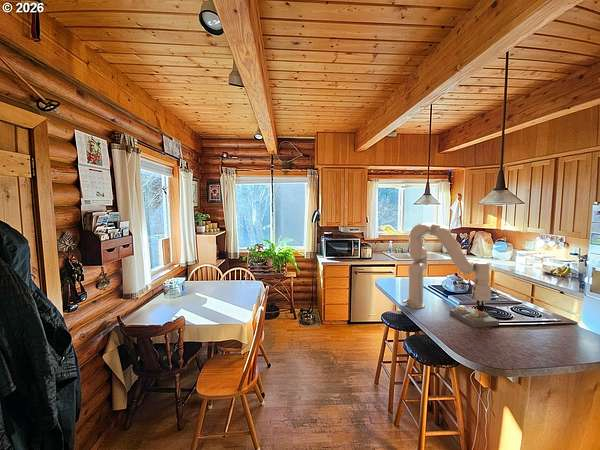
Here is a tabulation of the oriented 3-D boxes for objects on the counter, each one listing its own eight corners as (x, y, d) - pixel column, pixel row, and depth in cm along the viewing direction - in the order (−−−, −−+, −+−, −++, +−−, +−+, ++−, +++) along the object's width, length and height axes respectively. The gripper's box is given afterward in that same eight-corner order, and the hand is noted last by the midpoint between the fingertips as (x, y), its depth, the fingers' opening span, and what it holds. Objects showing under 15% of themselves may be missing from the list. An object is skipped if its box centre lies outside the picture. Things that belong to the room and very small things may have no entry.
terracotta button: (479, 315, 167) (479, 312, 167) (473, 313, 172) (474, 309, 171) (485, 315, 168) (485, 311, 168) (480, 312, 172) (480, 308, 172)
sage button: (473, 317, 161) (473, 314, 161) (467, 315, 165) (468, 311, 165) (480, 317, 162) (480, 313, 161) (474, 314, 166) (474, 310, 166)
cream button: (461, 311, 171) (461, 307, 171) (456, 308, 175) (456, 305, 175) (467, 311, 171) (467, 307, 171) (462, 308, 176) (462, 304, 176)
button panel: (473, 327, 158) (473, 320, 158) (449, 314, 178) (450, 307, 178) (499, 325, 161) (499, 318, 160) (472, 312, 180) (473, 306, 180)
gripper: (475, 284, 163) (474, 313, 165) (497, 282, 166) (496, 312, 167) (466, 280, 171) (465, 309, 172) (487, 279, 173) (486, 307, 174)
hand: (480, 310), depth 169 cm, fingers closed
